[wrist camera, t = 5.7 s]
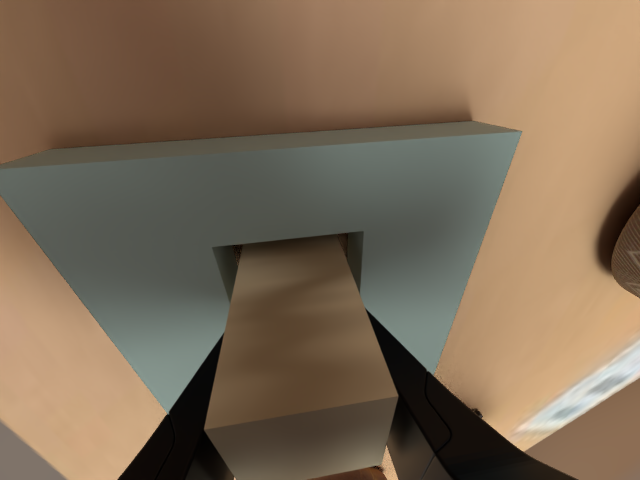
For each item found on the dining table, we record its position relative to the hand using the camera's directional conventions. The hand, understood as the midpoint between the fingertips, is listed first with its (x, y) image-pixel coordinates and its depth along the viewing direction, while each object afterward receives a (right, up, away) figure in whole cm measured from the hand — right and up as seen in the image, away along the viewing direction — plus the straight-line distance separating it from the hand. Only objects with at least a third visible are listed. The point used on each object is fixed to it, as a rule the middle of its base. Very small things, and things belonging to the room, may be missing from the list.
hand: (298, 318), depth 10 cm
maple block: (-1, +2, +3) cm, 4 cm away
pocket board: (0, -3, +6) cm, 7 cm away
